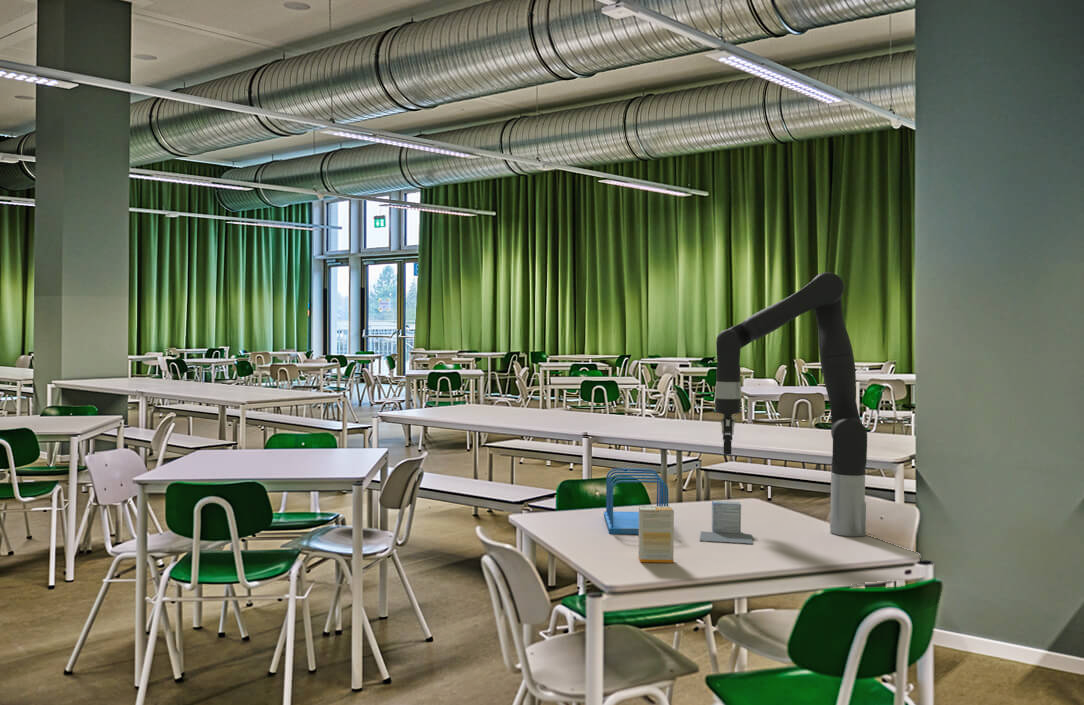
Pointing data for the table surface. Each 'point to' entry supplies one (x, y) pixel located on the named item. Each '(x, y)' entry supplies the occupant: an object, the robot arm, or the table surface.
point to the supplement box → (656, 534)
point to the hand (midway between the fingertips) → (727, 452)
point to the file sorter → (629, 520)
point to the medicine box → (726, 517)
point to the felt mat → (726, 537)
